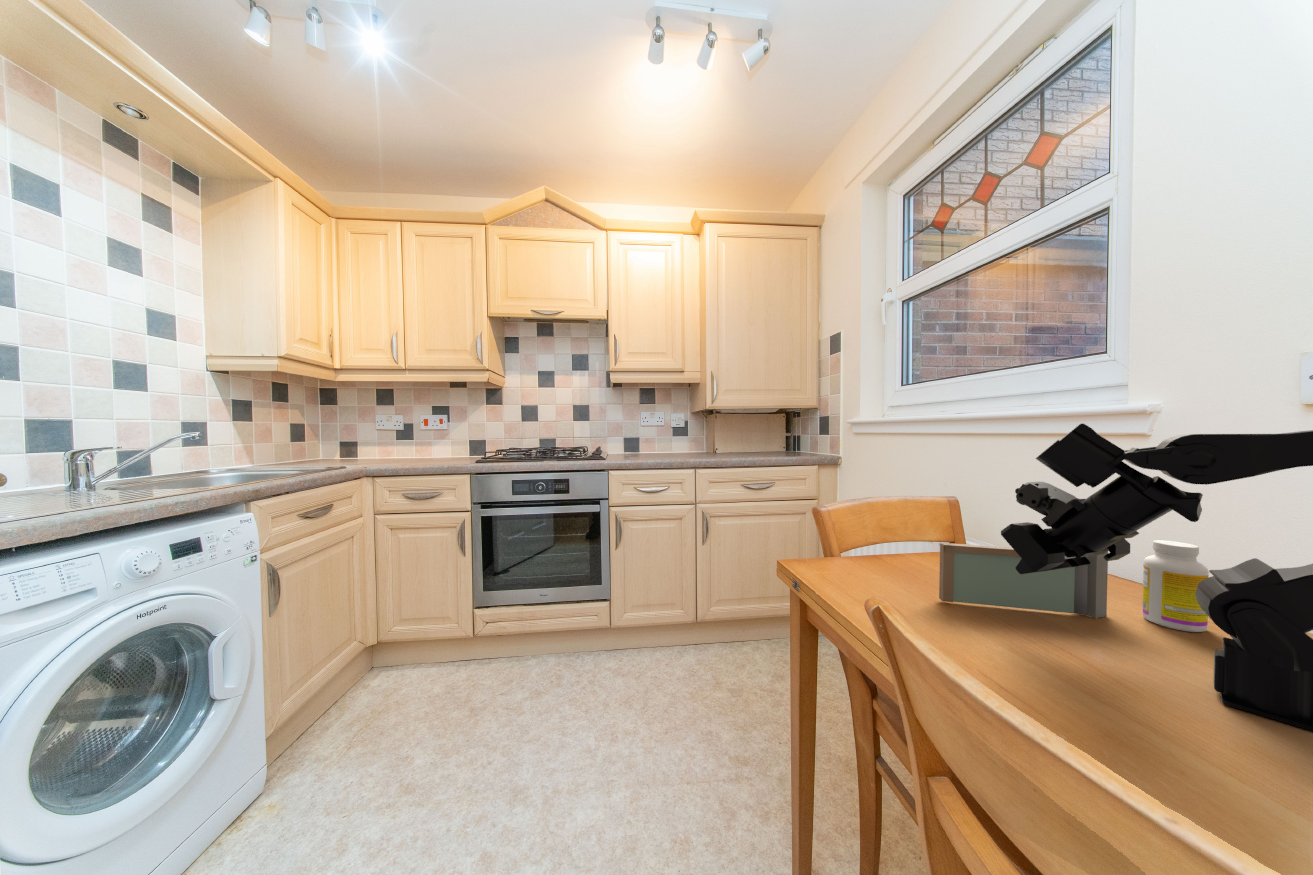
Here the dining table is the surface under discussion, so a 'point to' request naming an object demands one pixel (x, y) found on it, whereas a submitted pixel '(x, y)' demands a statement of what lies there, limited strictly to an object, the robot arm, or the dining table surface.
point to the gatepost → (1097, 586)
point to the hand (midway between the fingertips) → (1019, 571)
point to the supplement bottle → (1174, 586)
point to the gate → (1008, 580)
